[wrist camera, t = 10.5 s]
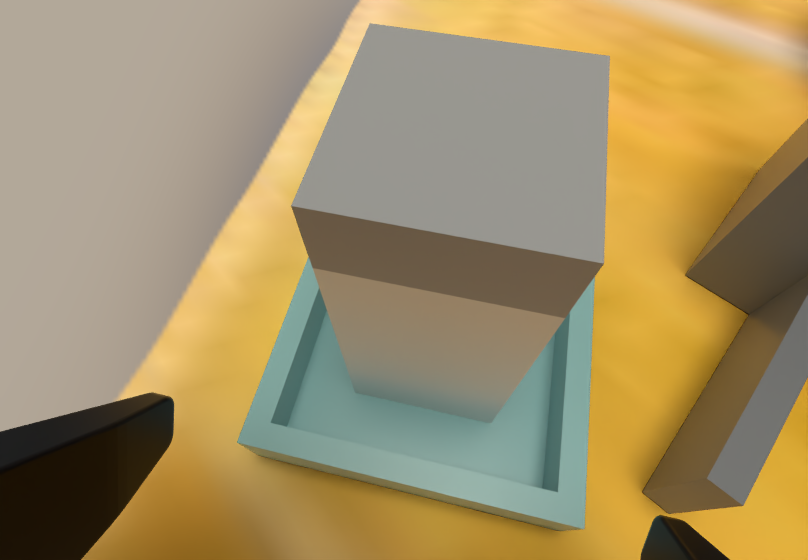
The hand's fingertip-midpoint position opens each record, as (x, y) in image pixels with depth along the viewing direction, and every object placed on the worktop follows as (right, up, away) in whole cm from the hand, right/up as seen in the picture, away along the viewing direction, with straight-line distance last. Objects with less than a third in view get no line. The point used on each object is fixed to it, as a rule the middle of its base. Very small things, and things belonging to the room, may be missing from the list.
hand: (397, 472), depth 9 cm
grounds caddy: (+1, +1, +10) cm, 10 cm away
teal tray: (+1, +1, +10) cm, 10 cm away
